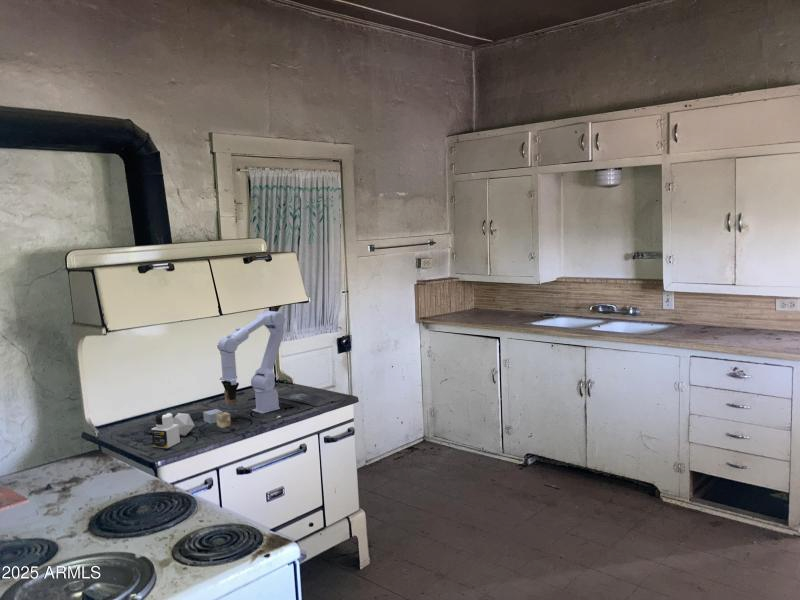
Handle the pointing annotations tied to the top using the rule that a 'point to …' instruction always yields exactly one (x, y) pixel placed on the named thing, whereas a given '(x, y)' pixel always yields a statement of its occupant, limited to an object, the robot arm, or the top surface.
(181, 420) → the die
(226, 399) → the walnut block
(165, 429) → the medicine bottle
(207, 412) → the base block
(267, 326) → the robot arm
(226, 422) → the maple block
